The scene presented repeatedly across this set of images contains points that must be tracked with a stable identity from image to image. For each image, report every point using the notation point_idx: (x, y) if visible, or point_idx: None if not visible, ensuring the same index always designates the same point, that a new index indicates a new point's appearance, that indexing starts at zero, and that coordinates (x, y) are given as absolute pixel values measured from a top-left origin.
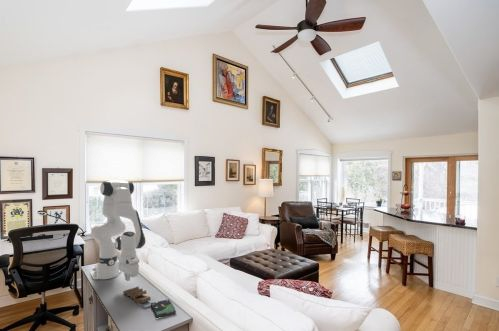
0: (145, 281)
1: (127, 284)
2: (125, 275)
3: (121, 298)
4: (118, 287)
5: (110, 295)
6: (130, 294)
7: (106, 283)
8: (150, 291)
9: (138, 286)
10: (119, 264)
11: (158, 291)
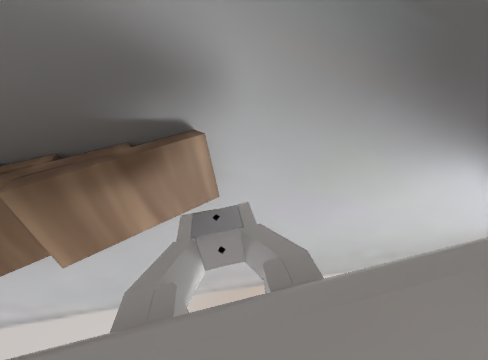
0: None
1: (343, 192)
2: (264, 249)
3: (107, 87)
4: (347, 132)
5: (241, 18)
6: (45, 164)
7: (485, 79)
8: (140, 274)
9: (63, 266)
10: None
11: (116, 303)
